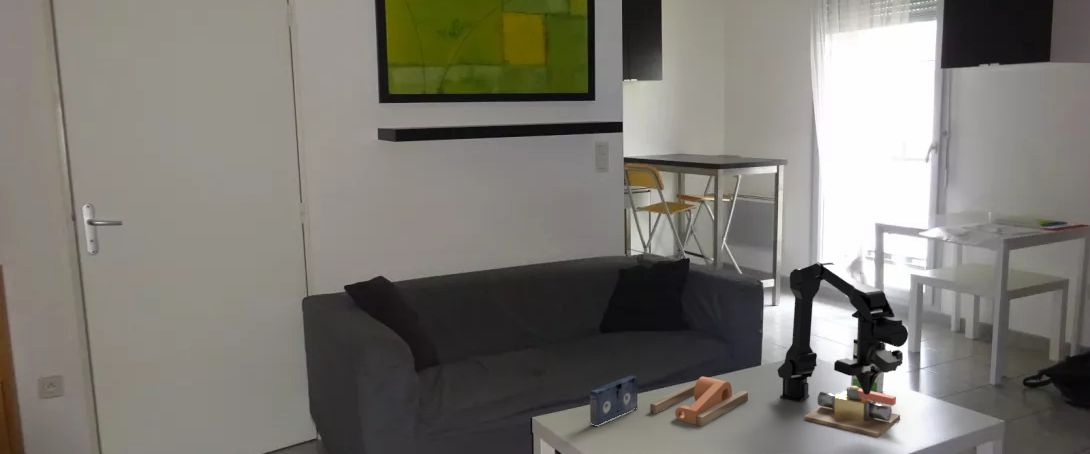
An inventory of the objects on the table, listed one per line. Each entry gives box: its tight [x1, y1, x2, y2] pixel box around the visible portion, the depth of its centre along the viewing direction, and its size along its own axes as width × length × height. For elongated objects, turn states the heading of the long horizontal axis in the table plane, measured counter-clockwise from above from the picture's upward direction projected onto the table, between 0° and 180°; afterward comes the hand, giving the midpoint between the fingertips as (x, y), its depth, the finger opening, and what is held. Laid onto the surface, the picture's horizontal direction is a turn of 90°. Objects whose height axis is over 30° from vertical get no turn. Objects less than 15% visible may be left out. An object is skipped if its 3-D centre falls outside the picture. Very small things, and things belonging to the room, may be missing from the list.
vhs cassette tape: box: [589, 374, 638, 425], centre depth 231 cm, size 18×3×10 cm, turn 134°
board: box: [803, 405, 901, 438], centre depth 227 cm, size 20×17×1 cm
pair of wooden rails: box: [649, 380, 749, 427], centre depth 239 cm, size 17×26×2 cm, turn 138°
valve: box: [817, 390, 893, 421], centre depth 227 cm, size 19×7×5 cm, turn 48°
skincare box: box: [850, 342, 887, 393], centre depth 248 cm, size 8×7×16 cm
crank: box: [674, 376, 733, 425], centre depth 235 cm, size 20×8×8 cm, turn 138°
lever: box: [846, 385, 897, 407], centre depth 223 cm, size 13×4×3 cm, turn 45°
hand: (866, 394), depth 218 cm, fingers closed
